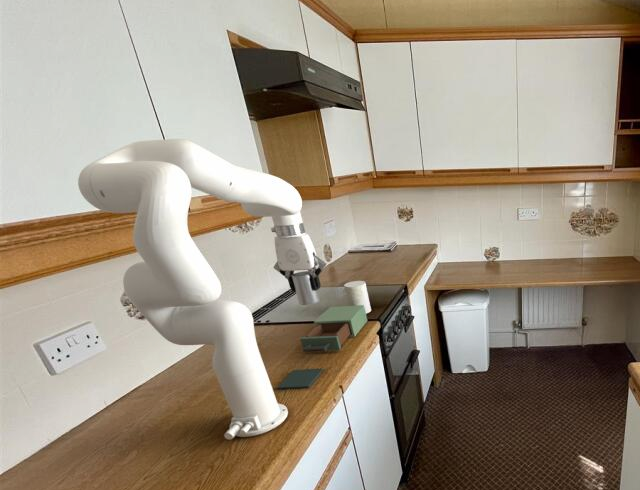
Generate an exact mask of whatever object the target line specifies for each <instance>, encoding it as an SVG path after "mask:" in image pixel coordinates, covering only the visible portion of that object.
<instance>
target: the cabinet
mask: <svg viewBox="0 0 640 490" xmlns="http://www.w3.org/2000/svg"><path fill="white" fill-rule="evenodd" d="M340 322H349V324H350V328H351V332H352V333H351V334H350V335H349V336H348V337H347V338H355V337H356V336H357V335H358V334H359V332H360V331H361V330H362V329H363V327H364V326H365V325H366V324H367V322H368V317H367V314H366V312H365V308H364V305H359V306H349V305H342V306H341V305H340V306H330V307H329V308H327V309H326V310H325V311H324V312H323V313H321V314H320V315H319V317H318V318H316V319H315V320H314V321H313V324H314V328H315V327H316V326H317V325H318V324H321V323H340Z"/></svg>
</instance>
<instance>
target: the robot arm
mask: <svg viewBox="0 0 640 490" xmlns="http://www.w3.org/2000/svg"><path fill="white" fill-rule="evenodd" d="M77 183H78V184H77V185H78V189H79V192H80V194H81V196H82V197H83V198H84V199H85V200H86V201H87V202H88V203H89V204H90V205H91V206H92V207H94V208H96V209H98V210H100V211H103V212H107V213H111V214H129V213H130V214H131V213H136V218H135V221H134V225H133V230H132V242H133V245H134V248H135V250H136V252H137V253H138V255H139V256H140V257H141V259H142V260H143V261H139V262H136V263H134V264H132V265H131V266H129V267H128V268H127V269H126V271H125V272H124V274H123V280H122V283H123V284H122V285H123V289H124V292H125V294H126V297H127V299H128V300H129V302H130V303H131V304H132V305H133V306H134V307H135V309H136V310H137V311H138V312H139V313H140V314H141V315H142V316H143V317H144V319H145V320H146V321H148V323H149V324H150V325H151V326H152V327H153V328H154V329H155V330H156V331H157V333H158V334H159V335H160V336H161V337H163V338H164V339H165V340H166V341H168V342H169V343H172V344H173V345H178V346H200V345H201V346H202V345H203V346H205V345H207V346H210V345H211V346H214V348H215V349H214V352H213V355H212V358H211V366H212V370H213V372H214V374H215V376H216V379H217V382H218V383H219V386H220V388H221V391H222V394H223V396H224V398H225V400H226V401H225V402H226V403H227V405H228V408H229V410H230V412H231V415H232V417H231V419H230V421H231V422H230V424H229V429H227V430H226V432H225V433H224V434H223V437H224V439H225V440H230V441H231V440H233V439H234V438H235V437H238V438H250V437H254V436H259V435H262V434H265V433H267V432H271V431H272V430H274V429H275V428H277V427H278V426H280V425H281V424H282V423H283V422H284V421H285V420H286V419H287V417H288V416H289V410H288V408H287V406H286V405H285V404H282V403H278V401H277V400H278V399H277V398H276V395H275V392H274V389H273V386H272V383H271V381H270V377H269V375H268V372H267V369H266V367H265V364H264V361H263V358H262V355H261V353H260V349H259V346H258V342H257V338H256V331H255V321H254V317H253V313H252V312H251V310H250V309H249V308H248V307H247V306H246V305H245V304H243V303H241V302H238V301H235V300H226V299H225V300H223V299H221V300H218V299H219V298H220V296H221V294H222V284H221V281H220V279H219V278H218V276H217V274H216V273H215V271H214V270H213V268H212V267H211V265H210V264H209V262H208V261H207V259H206V258H205V257H204V255H203V253H202V252H201V250H200V249H199V248H198V246H197V244H196V243H195V241H194V239H192V236H191V234H190V231H189V227H188V217H189V216H188V215H189V210H190V206H191V205H190V204H191V201H192V195H193V191H192V188H193V189H194V190H197V191H199V192H202V193H205V194H206V195H209V196H212V197H214V198H216V199H218V200H221V201H224V202H229V203H230V202H231V203H238V204H240V205H241V208H242V210H243V211H244V212H245V213H246V214H248V215H250V216H251V217H252V216H253V217H256V218H270V217H271V220H272V222H273V227H270V230H271V231H270V232H271V233H275V235H276V236H274V249H275V255H276V259H277V261H276V262H275V264H274V265H273V269H274V270H275V271H277V272H278V273H279V274H281V275H282V276H283V277H284V278H285V279H286V280H287V282H288V284H289V285H288V286H289V288H290V290H291V292H295V293H296V290H295V287H294V283H293V280H292V276H291V275H292V274H294V273H295V271H309V273H310V274H311V276H312V278H311V282H312V285H313V289H314V290H315V291H316V290H319V289H321V286H322V285H321V280H320V274H321V273H322V271H323V270H324V269H325V267H326V266H327V263H326V262H325V261H324V260H322V259H321V258H320V257H319V256H318V255H317V252H316V249H315V246H314V244H313V242H312V239H311V237H310V235H309V234H308V233H307V232H306V229H305V224H304V221H303V218H302V213H301V211H302V207H303V200H302V197H301V195H300V193H299V191H298V190H297V189H296V188H295V186H293V185H292V184H291V183H289V182H287V181H286V180H284V179H282V178H280V177H278V176H275V175H272V174H269V173H265V172H262V171H257V170H255V169H251V168H247V167H243V166H238V165H235V164H233V163H232V162H229V161H228V160H226V159H224V158H222V157H220V156H219V155H217V154H216V153H214V152H211V151H210V150H208V149H206V148H205V147H203V146H201V145H199V144H197V143H195V142H193V141H190V140H187V139H182V138H169V139H152V140H151V139H150V140H149V139H148V140H139V141H134V142H131V143H129V144H127V145H124V146H123V147H120V148H118V149H116V150H114V151H112V152H110V153H108V154H107V155H104V156H102V157H100V158H98V159H97V160H94V161H92V162H90V163H89V164H87V165H85V167H83V168H82V170H81V171H80V173H79V175H78V178H77ZM317 266H318V267H317Z"/></svg>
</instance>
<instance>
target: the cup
mask: <svg viewBox="0 0 640 490" xmlns="http://www.w3.org/2000/svg"><path fill="white" fill-rule="evenodd" d="M343 286H344V291H345V295H346V300H347V304H348V306H359V305H364V308H365V312H366V315H368V314H369V313H370V312H372V307H371V303H370V298H369V292H368V288H367V284H366V281H364V280H354V281H349V282H346V283H345V284H344V285H343Z"/></svg>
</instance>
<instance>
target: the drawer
mask: <svg viewBox="0 0 640 490" xmlns="http://www.w3.org/2000/svg"><path fill="white" fill-rule="evenodd" d="M351 333H352V332H351V328H350V324H349V322H340V323H321V324H318V325H317V326H316V327H315V326H314V328H313V329H311V330H310V332H309V333H308V334H306V336H304V337H303V336H302V337H300V339H299V340H300V343H301V346H302V352H303V353H311V352H312V353H313V352H314V353H315V352H329V351H330V352H333V351H341V350H342V345H343V344H344V342H345V341H346V340H347V339H348V338H349V337H348V336H349V335H350V334H351Z"/></svg>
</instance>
